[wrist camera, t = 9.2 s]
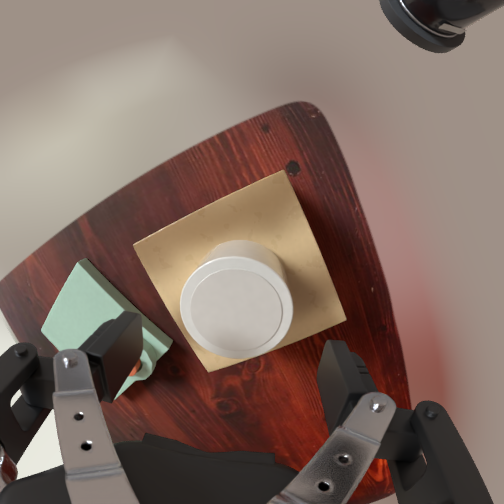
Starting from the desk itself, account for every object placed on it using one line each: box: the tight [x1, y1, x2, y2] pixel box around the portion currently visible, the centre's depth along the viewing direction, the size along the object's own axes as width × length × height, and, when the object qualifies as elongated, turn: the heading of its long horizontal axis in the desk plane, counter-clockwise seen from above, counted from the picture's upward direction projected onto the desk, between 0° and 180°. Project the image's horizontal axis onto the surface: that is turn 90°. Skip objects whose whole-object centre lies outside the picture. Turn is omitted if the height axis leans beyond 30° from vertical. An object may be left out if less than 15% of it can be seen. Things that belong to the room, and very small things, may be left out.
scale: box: [41, 258, 173, 400], centre depth 30 cm, size 14×14×4 cm
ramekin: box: [180, 240, 293, 359], centre depth 17 cm, size 6×6×4 cm
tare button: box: [129, 359, 141, 376], centre depth 28 cm, size 3×3×2 cm
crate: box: [133, 170, 346, 372], centre depth 24 cm, size 11×11×10 cm
